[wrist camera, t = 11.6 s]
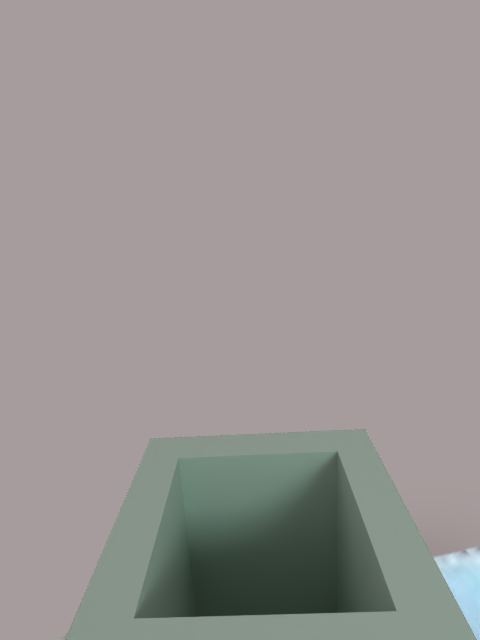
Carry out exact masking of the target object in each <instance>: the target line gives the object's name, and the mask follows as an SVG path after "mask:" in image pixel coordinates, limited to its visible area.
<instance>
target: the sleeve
mask: <svg viewBox="0 0 480 640" xmlns="http://www.w3.org/2000/svg"><path fill="white" fill-rule="evenodd" d="M65 640H477V639H476V637H475V636H474V634H473V632H472V630H471V628H470V626H469V624H468V622H467V620H466V619H465V617H464V615H463V613H462V611H461V609H460V607H459V605H458V604H457V602H456V600H455V598H454V596H453V594H452V592H451V590H450V588H449V587H448V585H447V583H446V581H445V579H444V577H443V575H442V573H441V572H440V570H439V568H438V566H437V564H436V562H435V560H434V558H433V556H432V555H431V553H430V551H429V549H428V547H427V545H426V543H425V541H424V539H423V538H422V536H421V534H420V532H419V530H418V528H417V526H416V525H415V523H414V521H413V519H412V517H411V515H410V513H409V511H408V509H407V507H406V506H405V504H404V502H403V500H402V498H401V496H400V494H399V492H398V490H397V489H396V487H395V485H394V483H393V481H392V479H391V477H390V475H389V474H388V472H387V470H386V468H385V466H384V464H383V462H382V460H381V458H380V457H379V455H378V453H377V451H376V449H375V447H374V446H373V443H372V441H371V440H370V438H369V436H368V434H367V432H366V430H365V429H355V430H333V431H311V432H289V433H268V434H267V433H265V434H243V435H220V436H198V437H175V438H153V439H150V441H149V443H148V445H147V448H146V450H145V453H144V455H143V458H142V460H141V462H140V464H139V467H138V469H137V471H136V474H135V476H134V479H133V481H132V483H131V486H130V488H129V490H128V493H127V495H126V497H125V500H124V502H123V504H122V507H121V509H120V512H119V514H118V516H117V519H116V521H115V523H114V526H113V528H112V530H111V533H110V535H109V538H108V540H107V542H106V545H105V547H104V549H103V552H102V554H101V557H100V559H99V561H98V563H97V566H96V568H95V571H94V573H93V575H92V578H91V580H90V582H89V585H88V587H87V589H86V592H85V594H84V597H83V599H82V602H81V604H80V606H79V608H78V611H77V613H76V615H75V618H74V620H73V623H72V625H71V627H70V630H69V632H68V634H67V637H66V639H65Z"/></svg>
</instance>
